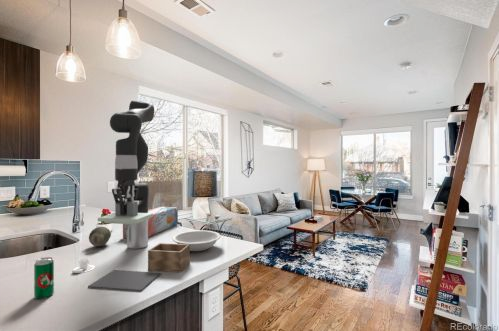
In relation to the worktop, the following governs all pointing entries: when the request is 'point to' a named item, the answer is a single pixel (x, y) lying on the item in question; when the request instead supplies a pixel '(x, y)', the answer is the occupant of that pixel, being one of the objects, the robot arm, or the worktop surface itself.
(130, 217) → the lid
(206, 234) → the white sink basin
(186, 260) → the walnut box
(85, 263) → the teacup and saucer
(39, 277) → the soda can
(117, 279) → the rubber mat
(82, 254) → the worktop surface
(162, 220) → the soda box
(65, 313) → the worktop surface
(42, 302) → the worktop surface
